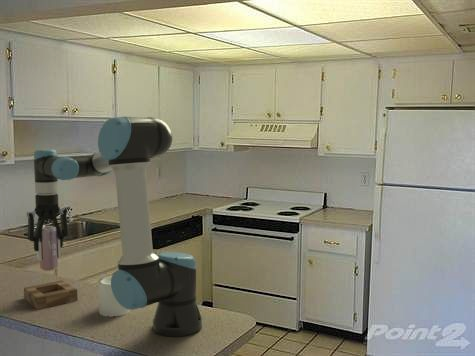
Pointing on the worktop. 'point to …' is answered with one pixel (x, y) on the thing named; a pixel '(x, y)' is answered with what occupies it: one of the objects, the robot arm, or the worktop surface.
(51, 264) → the beverage can
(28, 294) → the socket block
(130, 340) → the worktop surface
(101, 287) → the mug
